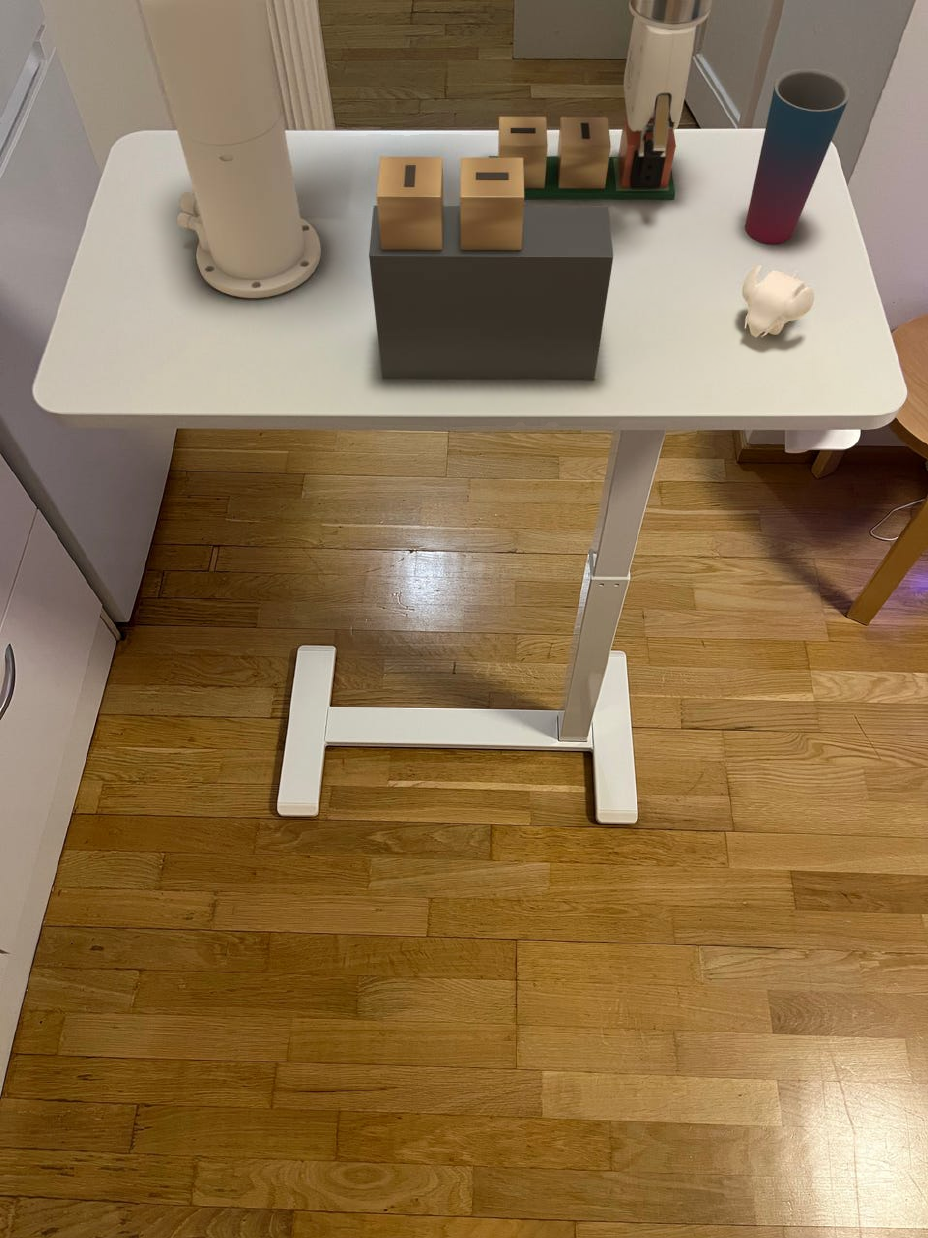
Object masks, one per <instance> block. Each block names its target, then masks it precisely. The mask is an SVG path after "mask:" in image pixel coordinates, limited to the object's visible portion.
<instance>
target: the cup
mask: <svg viewBox="0 0 928 1238" xmlns="http://www.w3.org/2000/svg"><path fill="white" fill-rule="evenodd" d="M850 95H851V91H850V88H849V86H848V85H847V83H846V82H845V81H844V80H843V79H842V78H841V77H839V76H837V75H836V74H834V73H831V72H830V71H827V70H823V69H817V68H808V67H804V68H796V69H791V70H788V71H786V72H783V73H782V74H780V75H779V76H778V77H777V79H776V80H775V82H774V87H773V91H772V96H771V100H770V105H769V109H768V114H767V120H766V124H765V129H764V134H763V139H762V144H761V149H760V152H759V157H758V161H757V167H756V172H755V177H754V181H753V186H752V190H751V196H750V201H749V205H748V210H747V215H746V220H745V225H744V227H745V231H746V233H747V234H748V236H750V238H752V239H754V240H755V241H757V242H760V243H763V244H768V245H777V244H782V243H785V242H787V241H788V240H790V239H791V238H792V237H793V235H794V232H795V230H796V228H797V225H798V222H799V221H800V218H801V215H802V213H803V210H804V208H805V206H806V203H807V201H808V199H809V196H810V194H811V191H812V189H813V187H814V184H815V181H816V179H817V177H818V174H819V173H820V169H821V168H822V165H823V162H824V160H825V157H826V155H827V152H828V151H829V148H830V145H831V144H832V141H833V138H834V136H835V133H836V131H837V128H838V126H839V124H840V121H841V119H842V116H843V114H844V111H845V109H846V107H847V104H848V102H849V100H850Z"/></svg>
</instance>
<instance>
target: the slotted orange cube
mask: <svg viewBox="0 0 928 1238" xmlns="http://www.w3.org/2000/svg"><path fill="white" fill-rule="evenodd" d="M648 122H654V118H650V120H649V121H648ZM639 136H640V131H638V130H636V132H635V131H632V130H631V128H630V127H629V125H628V119H627V115H625V116H623V123H622V130H621V135H620V143H619V149H618V150H619V151H618V155H617V157H618V164H619V174H620V183H621V188H631V186H630V179H631V173H632V166H633V160H634V153H635V151H638V145H639ZM652 136H653V132H647V134H646V142H647V140H651V139H652ZM676 147H677V142H676V137H675V130H674V131H671V130H670V128H669V134H668V141H667V149H666V158H665V164H664V169H663V174H662V180H661V185H660V187H659V188H667V187H668V182H669V177H670V172H671V169H672V166H673V162H674V157H675V153H676Z"/></svg>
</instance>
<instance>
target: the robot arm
mask: <svg viewBox="0 0 928 1238" xmlns="http://www.w3.org/2000/svg"><path fill="white" fill-rule="evenodd" d="M712 1H713V0H629V1H628V2H629V3H628V9H629V11H630V14H631V15H632V16H633V21H632V22H633V23H632V26H631V27H632V28H631V32H630V33H631V34H630V39H629V45H628V46H629V47H628V51H627V56H626V63H625V68H624V74H623V93H624V102H625V103H624V104H625V111H626V116H627V119H628V125H629V127H630V128H631V130H632V131H635V132H636V130H638V131H640V136H639V145H638V151H635V153H634V160H633V166H632V173H631V179H630V186H631V188H659V187H660V185H661V180H662V174H663V169H664V164H665V158H666V149H667V141H668V134H669V128H670V130H671V131H674V132H675V130H676V129H678V127H679V124H680V120H681V118H682V112H683V108H684V104H685V98H686V93H687V87H688V81H689V75H690V69H691V65H692V64H691V63H692V56H693V52H694V43H695V36H696V29H697V26H698V25H700V24H702V23H703V22H705V20H706V19H707V18H708V17H709V16H710V13H711V7H712V3H713V2H712ZM139 3H140V7H141V11H142V16H143V18H144V22H145V26H146V29H147V32H148V34H149V38H150V42H151V45H152V48H153V52H154V55H155V59H156V62H157V65H158V69H159V73H160V76H161V80H162V83H163V87H164V90H165V94H166V97H167V101H168V102H167V103H168V105H169V108H170V112H171V116H172V119H173V124H174V126H175V128H176V131H177V136H178V139H179V143H180V145H181V150H182V153H183V156H184V160H185V164H186V168H187V172H188V175H189V179H190V183H191V186H192V190H193V193H192V192H189V191H184V192H183V193H182V194H181V195H180V197H179V208H180V210H181V212H179V213H178V215H177V218H176V223H177V225H178V226H179V227H182V228H186V229H189V230H193V231H195V233H196V234H197V236H198V239H199V240H198V241H199V242H198V244H197V247H196V253H195V257H196V262H197V266H198V269H199V272H200V275H201V276H202V278H203V279H204V280H205V282H206V283H208V284H209V285H210V286H211V287H212V288H214V289H216V290H217V291H219V292H221V293H223V294H227V295H229V296H232V297H238V298H245V299H261V298H269V297H273V296H278V295H281V294H284V293H286V292H289V291H291V290H293V289H295V288H296V287H298V286H300V285H302V284H303V283H304V282H305V281H307V280H308V279H309V278H310V277H311V276H312V275H313V274H314V273H315V271H316V270H317V268H318V266H319V263H320V259H321V257H322V248H321V241H320V238H319V235H318V233H317V231H316V230H315V228H314V227H313V225H312V224H311V223H309V222H308V221H307V220H305V219H304V218H303V217H301V213H300V208H299V203H298V196H297V192H296V191H297V190H296V186H295V185H296V184H295V181H294V180H295V179H294V174H293V169H292V162H291V156H290V150H289V145H288V140H287V134H286V128H285V123H284V117H283V111H282V105H281V101H280V96H279V95H280V94H279V90H278V84H277V78H276V72H275V66H274V58H273V52H272V51H273V50H272V44H271V32H270V24H269V14H268V13H269V12H268V5H267V0H139ZM650 118H654V122H648V121H649V120H650ZM647 132H653V136H652V139H651V140H647V142H646V134H647ZM194 215H195V216H194ZM196 216H197V217H196Z"/></svg>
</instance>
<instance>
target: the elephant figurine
mask: <svg viewBox="0 0 928 1238" xmlns="http://www.w3.org/2000/svg"><path fill="white" fill-rule="evenodd" d="M761 268H762V265H761V264H759V265H756V266H755V267H753V268H751V271H749V273H748V275H747V276H746V277H745V279H744V282H743V285H742V288H741V289H742V291H741V293H742V298H743V300H744V301H745V302H746V303H747V306H748V311H747V315H746V316H745V319H744V320H745V321H744V329H745V330H746V329H747V325H748V328H749V332H750V335H751V336H753V337H755V338H757V337H759V336H760V335H761V334H762V333H764V334H762V335H761V336H760V338H763V337H764V336H766V335H767V334H771V335H773V336H777V335H779V334H780V333H781V332H782V330H783V329H784V326H785V324H787V323H788V322H792V321H796V320H798V319H800V318H803V317H804V316H805V315H807V314H808V313H809V312H811V310H812V307H813V304H814V299H815V294H814V293H815V292H814V291H813V288H812V287H811V286H806V287H805V283H804V282H803V281H802V280H800V279H798V278H796V277H795V276H796V274H798V271H797V270H796V271H794V274H793V275H792V276H791V275H788V274H787V273H785V272H782V271H780V270H777V269H773V270H771V271H770V272H769V273H767V275H766V276H765V277H764V278H763V279H762V280H761V281H759V282H758V278H759V275H760V272H761Z"/></svg>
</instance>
